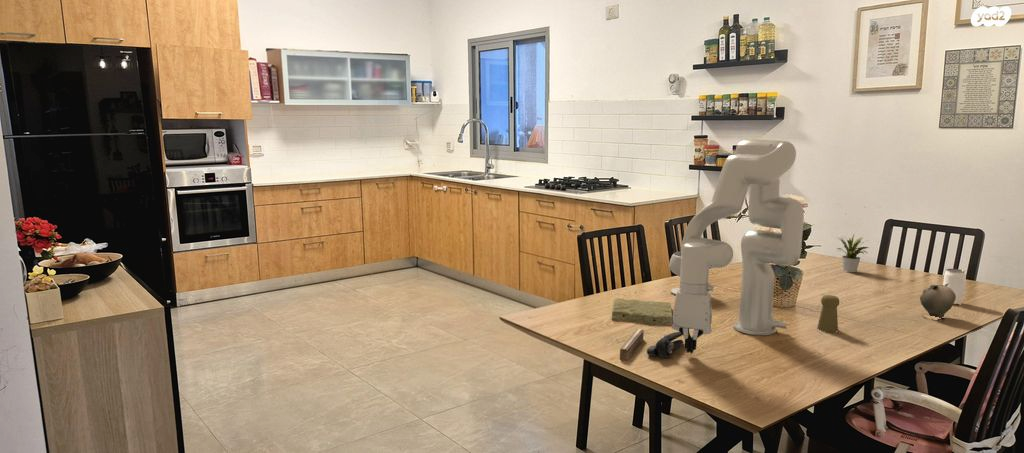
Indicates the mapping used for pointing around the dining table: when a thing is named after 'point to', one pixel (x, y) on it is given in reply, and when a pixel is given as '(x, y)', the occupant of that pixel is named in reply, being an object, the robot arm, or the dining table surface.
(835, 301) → the cork
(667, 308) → the decorative tile
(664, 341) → the can opener
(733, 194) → the robot arm
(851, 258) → the house plant
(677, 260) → the chalice
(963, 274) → the can
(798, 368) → the dining table surface
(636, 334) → the walnut rail
